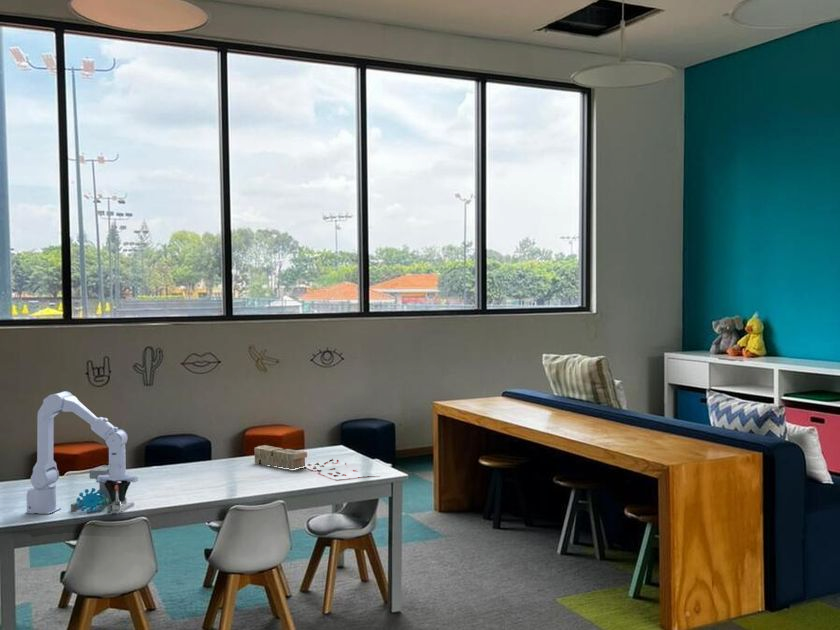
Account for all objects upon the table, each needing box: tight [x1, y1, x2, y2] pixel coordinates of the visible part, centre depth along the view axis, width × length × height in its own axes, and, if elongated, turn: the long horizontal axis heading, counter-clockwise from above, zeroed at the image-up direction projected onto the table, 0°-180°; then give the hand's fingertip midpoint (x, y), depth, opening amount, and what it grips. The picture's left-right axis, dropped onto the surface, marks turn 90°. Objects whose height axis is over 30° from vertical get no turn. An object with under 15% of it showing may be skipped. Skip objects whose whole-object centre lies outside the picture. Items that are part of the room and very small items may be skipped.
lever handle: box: [112, 482, 124, 510], centre depth 301 cm, size 3×3×10 cm
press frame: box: [70, 464, 135, 515], centre depth 308 cm, size 19×16×14 cm
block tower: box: [253, 444, 308, 469], centre depth 380 cm, size 8×8×29 cm
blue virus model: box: [75, 487, 109, 514], centre depth 305 cm, size 11×6×10 cm
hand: (117, 501), depth 301 cm, fingers closed on lever handle, 3 cm apart
